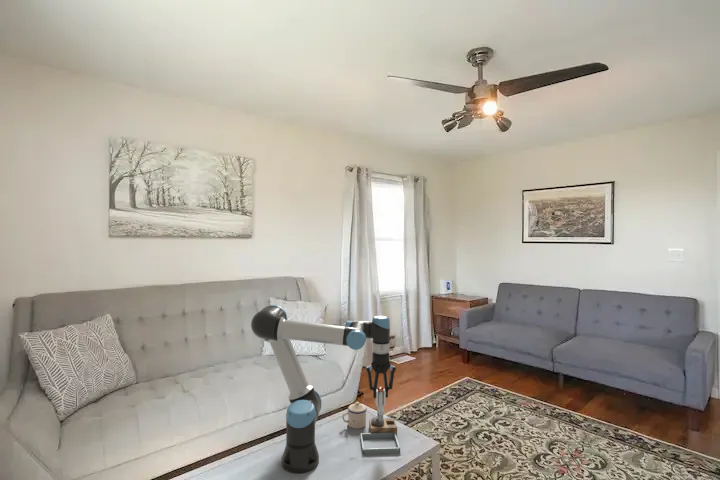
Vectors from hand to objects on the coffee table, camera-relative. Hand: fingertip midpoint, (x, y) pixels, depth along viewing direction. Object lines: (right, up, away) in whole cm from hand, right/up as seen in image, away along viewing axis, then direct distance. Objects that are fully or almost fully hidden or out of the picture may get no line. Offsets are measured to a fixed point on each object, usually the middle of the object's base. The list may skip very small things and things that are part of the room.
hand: (380, 404), depth 172 cm
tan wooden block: (+2, -19, +12) cm, 22 cm away
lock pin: (0, -7, 0) cm, 7 cm away
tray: (0, -19, +1) cm, 19 cm away
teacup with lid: (-12, -19, +19) cm, 29 cm away
